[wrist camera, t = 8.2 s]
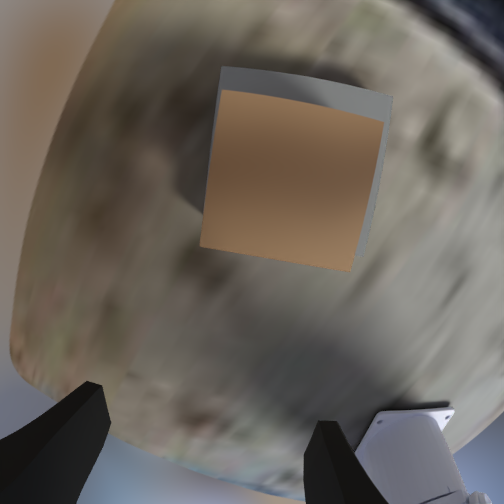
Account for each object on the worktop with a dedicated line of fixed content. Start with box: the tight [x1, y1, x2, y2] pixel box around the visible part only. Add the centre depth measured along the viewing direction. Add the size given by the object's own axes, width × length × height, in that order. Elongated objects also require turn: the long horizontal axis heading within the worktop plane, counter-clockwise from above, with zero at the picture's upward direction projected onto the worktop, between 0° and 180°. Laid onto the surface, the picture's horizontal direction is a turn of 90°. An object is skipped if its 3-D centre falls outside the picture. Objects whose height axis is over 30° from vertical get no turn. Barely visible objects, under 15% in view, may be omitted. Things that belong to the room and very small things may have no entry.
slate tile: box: [203, 66, 393, 257], centre depth 16 cm, size 8×8×3 cm
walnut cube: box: [200, 90, 384, 272], centre depth 12 cm, size 5×5×5 cm
